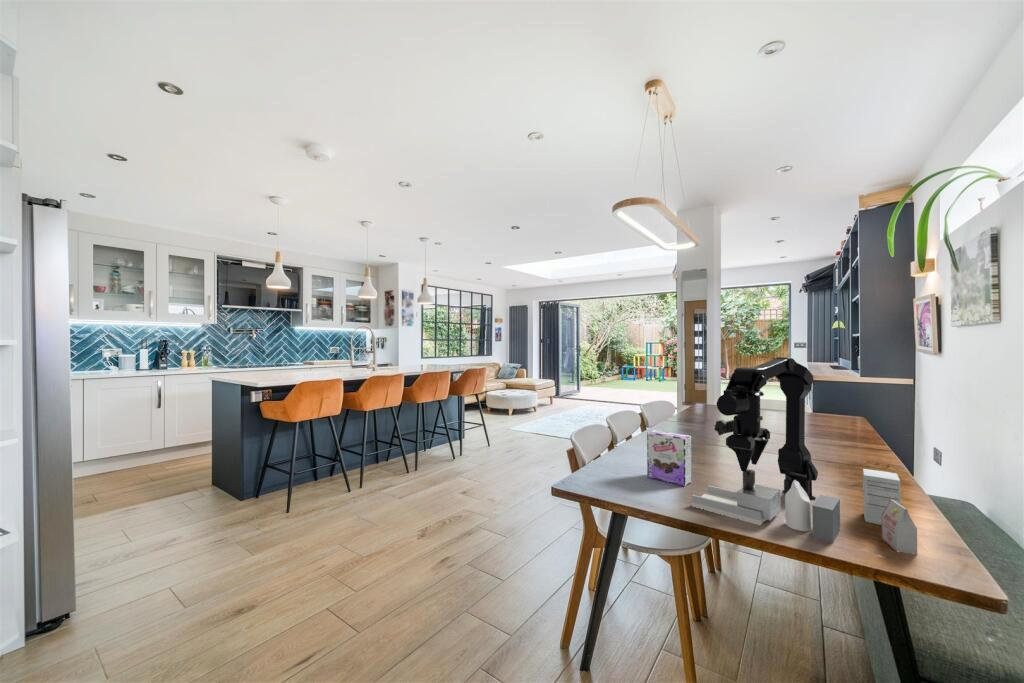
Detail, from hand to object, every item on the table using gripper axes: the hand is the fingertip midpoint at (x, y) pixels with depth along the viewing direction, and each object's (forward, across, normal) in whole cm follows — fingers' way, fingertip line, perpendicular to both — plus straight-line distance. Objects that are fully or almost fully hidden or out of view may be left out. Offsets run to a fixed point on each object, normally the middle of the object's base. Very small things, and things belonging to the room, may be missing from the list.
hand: (748, 467), depth 116 cm
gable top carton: (+13, -4, +31) cm, 34 cm away
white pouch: (+13, 0, +12) cm, 17 cm away
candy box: (+13, -11, -29) cm, 34 cm away
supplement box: (+13, -20, +26) cm, 35 cm away
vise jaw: (+11, 0, +2) cm, 12 cm away
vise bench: (+13, 0, +3) cm, 13 cm away
